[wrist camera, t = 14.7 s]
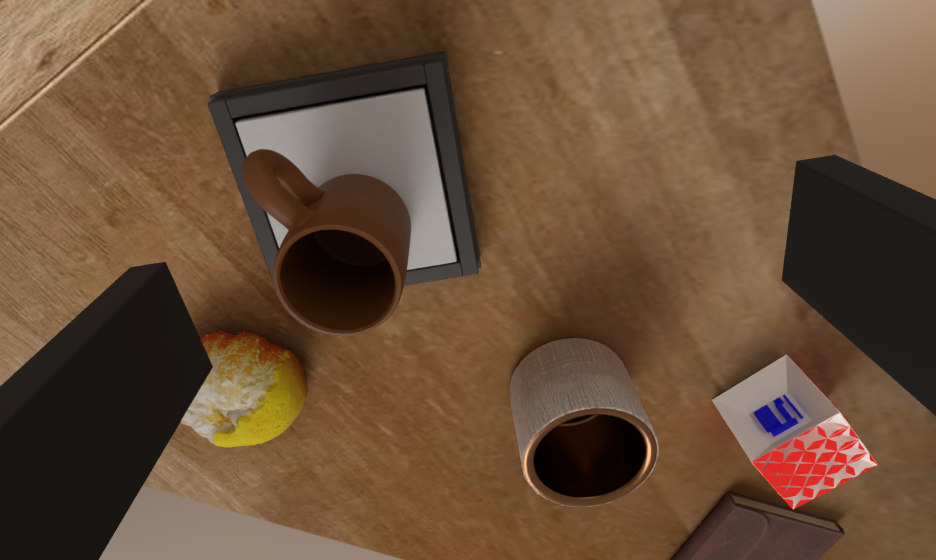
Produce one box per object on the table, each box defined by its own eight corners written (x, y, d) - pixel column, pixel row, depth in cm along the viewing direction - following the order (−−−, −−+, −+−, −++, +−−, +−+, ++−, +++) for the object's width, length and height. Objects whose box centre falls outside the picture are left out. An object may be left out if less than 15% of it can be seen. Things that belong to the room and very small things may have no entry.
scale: (217, 91, 39) (201, 99, 37) (444, 51, 39) (445, 56, 36) (288, 290, 47) (279, 309, 44) (480, 259, 46) (482, 276, 43)
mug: (238, 156, 38) (180, 205, 30) (326, 92, 36) (292, 124, 28) (350, 286, 43) (328, 359, 35) (433, 235, 41) (430, 299, 33)
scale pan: (241, 117, 38) (234, 122, 37) (424, 85, 38) (423, 89, 36) (297, 279, 44) (293, 289, 43) (456, 253, 44) (457, 262, 42)
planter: (592, 313, 49) (624, 382, 40) (644, 394, 53) (682, 473, 45) (486, 370, 51) (494, 447, 43) (543, 443, 56) (561, 526, 47)
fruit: (274, 300, 46) (263, 379, 41) (328, 371, 54) (325, 446, 48) (150, 336, 47) (122, 419, 42) (219, 401, 55) (204, 479, 49)
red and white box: (749, 445, 57) (792, 509, 50) (711, 400, 54) (751, 462, 47) (823, 402, 55) (879, 464, 48) (787, 353, 52) (841, 411, 45)
